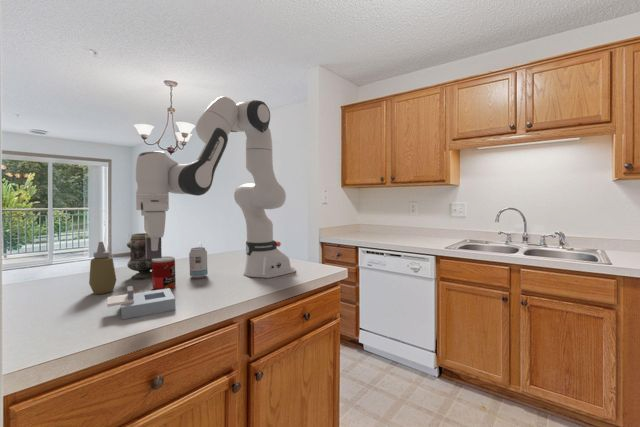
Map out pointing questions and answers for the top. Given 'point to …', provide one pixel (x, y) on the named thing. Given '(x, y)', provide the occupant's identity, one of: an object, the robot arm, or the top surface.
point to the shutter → (121, 298)
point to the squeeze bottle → (102, 271)
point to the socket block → (149, 303)
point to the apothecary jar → (139, 257)
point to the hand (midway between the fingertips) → (153, 249)
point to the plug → (149, 252)
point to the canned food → (163, 273)
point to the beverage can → (198, 262)
